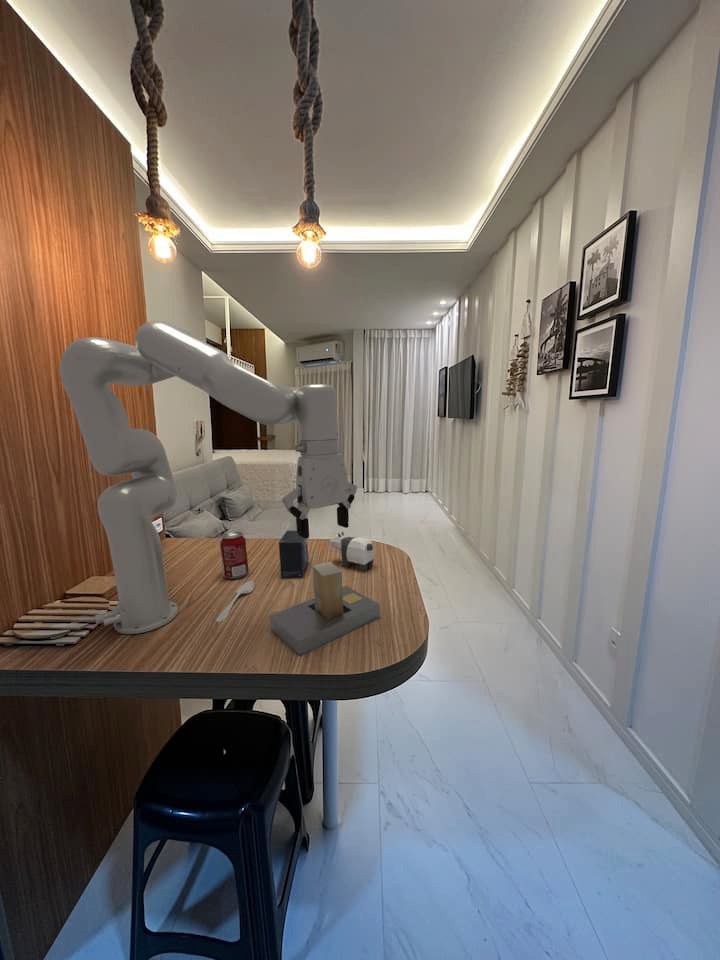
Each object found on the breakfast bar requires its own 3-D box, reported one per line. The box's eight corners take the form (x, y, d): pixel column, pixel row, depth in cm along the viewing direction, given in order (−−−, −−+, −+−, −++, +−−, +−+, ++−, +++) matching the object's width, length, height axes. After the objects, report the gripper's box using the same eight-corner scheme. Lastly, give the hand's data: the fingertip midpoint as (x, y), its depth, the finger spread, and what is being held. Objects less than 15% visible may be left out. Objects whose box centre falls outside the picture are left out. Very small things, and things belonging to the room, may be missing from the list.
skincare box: (314, 617, 83) (311, 564, 81) (332, 611, 85) (329, 560, 83) (325, 631, 78) (322, 575, 76) (345, 625, 80) (342, 570, 77)
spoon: (258, 586, 100) (257, 580, 100) (220, 631, 80) (219, 623, 80) (243, 586, 101) (243, 580, 101) (202, 630, 81) (201, 623, 80)
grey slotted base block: (299, 655, 70) (298, 640, 70) (270, 629, 79) (269, 615, 79) (379, 616, 82) (379, 603, 82) (346, 597, 92) (346, 585, 91)
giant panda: (377, 566, 109) (376, 535, 107) (367, 573, 104) (366, 540, 103) (337, 557, 117) (335, 528, 115) (326, 563, 113) (324, 533, 111)
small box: (304, 578, 103) (301, 541, 102) (280, 578, 104) (277, 542, 102) (309, 562, 114) (307, 529, 112) (288, 563, 114) (285, 530, 112)
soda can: (249, 577, 105) (245, 536, 103) (224, 582, 103) (219, 540, 101) (247, 568, 111) (243, 529, 109) (223, 573, 109) (218, 533, 107)
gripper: (290, 454, 67) (296, 546, 70) (365, 445, 77) (367, 526, 80) (271, 451, 72) (277, 536, 76) (343, 444, 83) (346, 519, 86)
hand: (324, 531), depth 78 cm, fingers open, 9 cm apart
